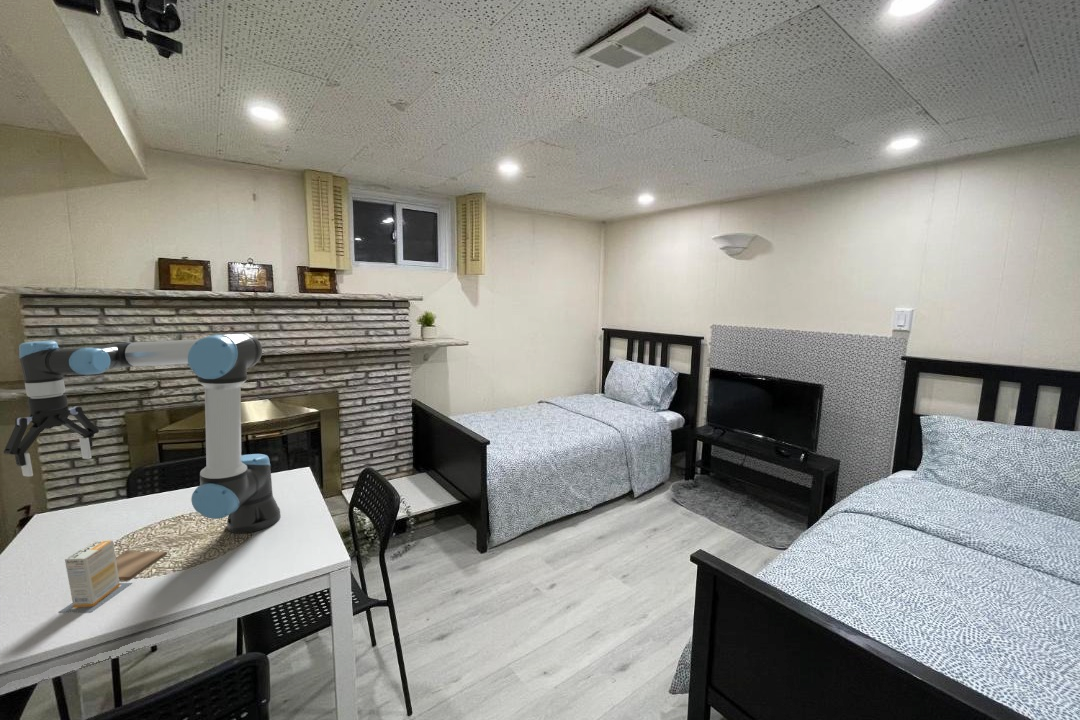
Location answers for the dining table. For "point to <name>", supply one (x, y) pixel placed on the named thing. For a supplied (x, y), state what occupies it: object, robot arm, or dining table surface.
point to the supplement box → (92, 573)
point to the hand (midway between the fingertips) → (59, 466)
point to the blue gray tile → (104, 600)
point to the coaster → (135, 562)
